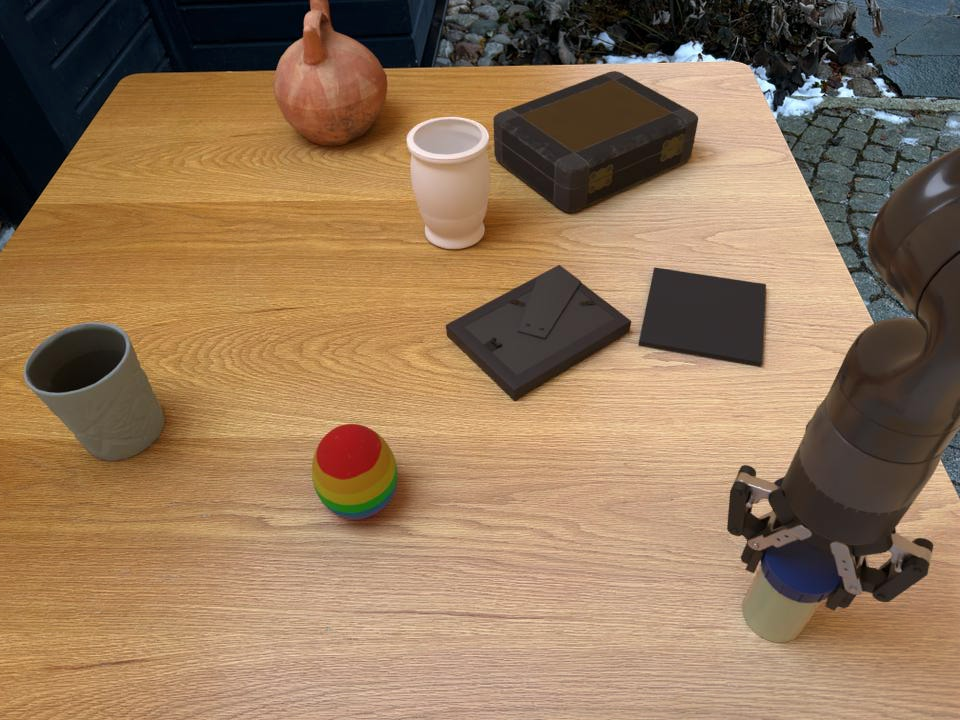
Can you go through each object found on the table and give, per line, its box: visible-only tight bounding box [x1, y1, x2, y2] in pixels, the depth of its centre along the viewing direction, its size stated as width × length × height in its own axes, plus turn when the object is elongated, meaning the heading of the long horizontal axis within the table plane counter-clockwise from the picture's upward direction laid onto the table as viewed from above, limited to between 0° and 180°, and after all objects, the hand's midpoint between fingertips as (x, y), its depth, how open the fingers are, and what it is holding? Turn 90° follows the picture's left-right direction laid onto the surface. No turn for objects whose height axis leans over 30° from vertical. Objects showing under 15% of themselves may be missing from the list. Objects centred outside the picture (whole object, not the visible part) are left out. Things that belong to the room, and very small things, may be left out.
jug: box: [272, 0, 388, 147], centre depth 119 cm, size 18×18×20 cm
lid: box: [760, 541, 842, 604], centre depth 59 cm, size 6×6×2 cm
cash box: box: [493, 70, 699, 213], centre depth 114 cm, size 25×20×8 cm
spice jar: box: [741, 564, 823, 643], centre depth 62 cm, size 5×5×9 cm
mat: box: [638, 267, 767, 368], centre depth 91 cm, size 14×14×1 cm
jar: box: [406, 116, 492, 250], centre depth 100 cm, size 11×10×15 cm
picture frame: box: [445, 264, 632, 402], centre depth 90 cm, size 13×2×18 cm
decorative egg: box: [311, 423, 399, 520], centre depth 72 cm, size 8×8×10 cm
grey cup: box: [23, 321, 165, 462], centre depth 78 cm, size 10×10×12 cm
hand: (792, 580), depth 61 cm, fingers closed on lid, 5 cm apart
